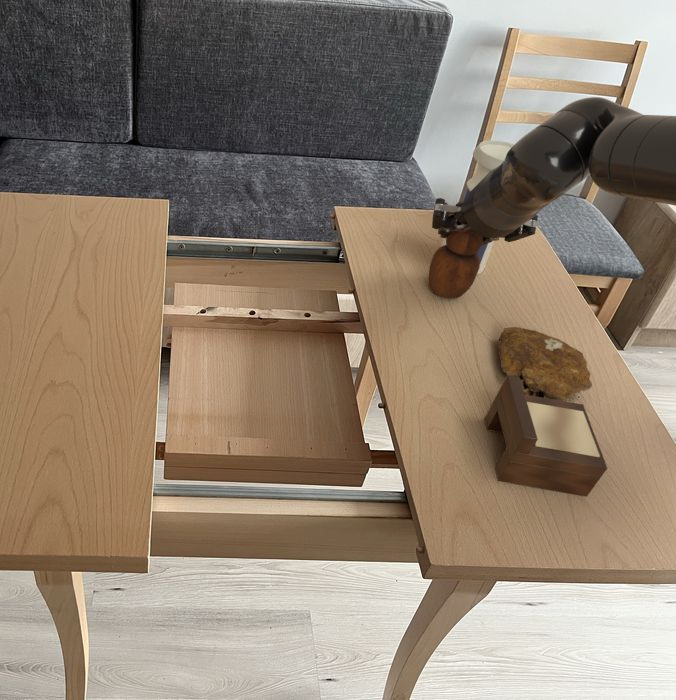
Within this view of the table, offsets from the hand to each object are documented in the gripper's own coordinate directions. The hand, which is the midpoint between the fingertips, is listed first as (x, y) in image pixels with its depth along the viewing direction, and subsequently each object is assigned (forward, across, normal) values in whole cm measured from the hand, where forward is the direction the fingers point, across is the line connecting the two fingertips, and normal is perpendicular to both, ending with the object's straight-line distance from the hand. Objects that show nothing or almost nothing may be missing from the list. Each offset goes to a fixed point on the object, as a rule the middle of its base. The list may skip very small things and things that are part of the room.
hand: (463, 234), depth 102 cm
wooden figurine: (+5, 0, -8) cm, 10 cm away
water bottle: (+13, +4, -1) cm, 13 cm away
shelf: (-17, +8, -30) cm, 36 cm away
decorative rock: (-6, +12, -20) cm, 24 cm away
